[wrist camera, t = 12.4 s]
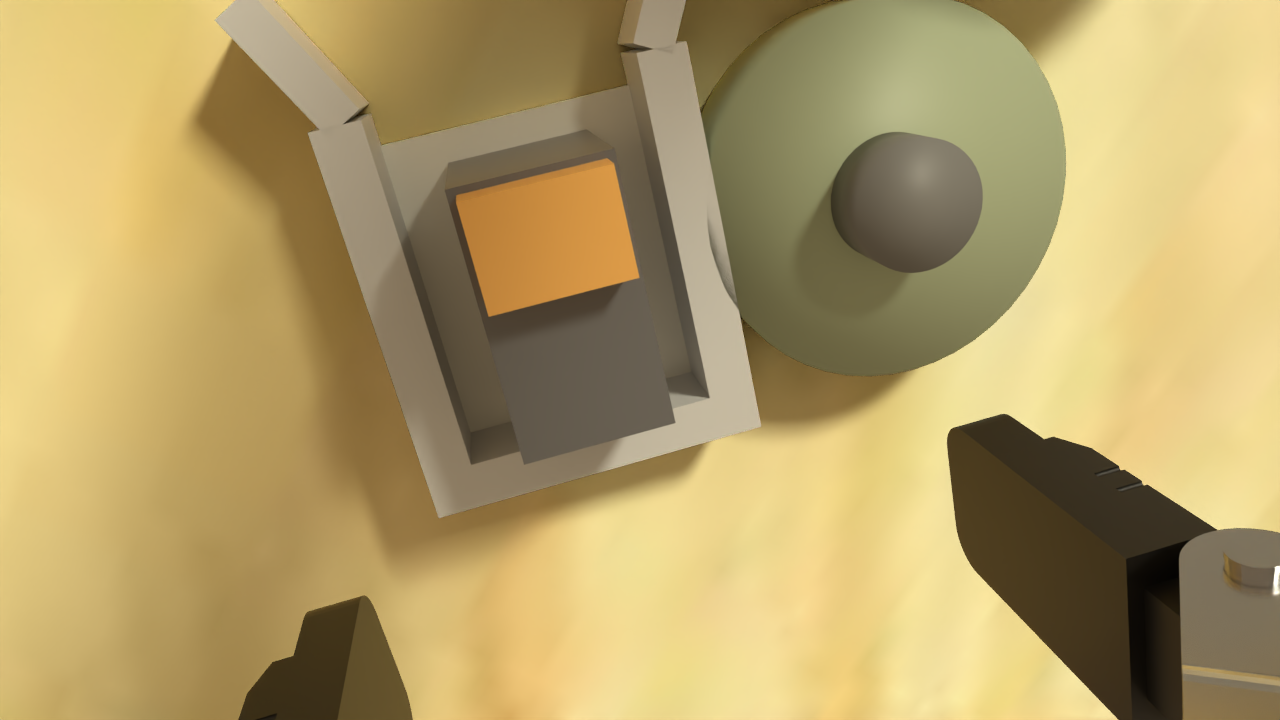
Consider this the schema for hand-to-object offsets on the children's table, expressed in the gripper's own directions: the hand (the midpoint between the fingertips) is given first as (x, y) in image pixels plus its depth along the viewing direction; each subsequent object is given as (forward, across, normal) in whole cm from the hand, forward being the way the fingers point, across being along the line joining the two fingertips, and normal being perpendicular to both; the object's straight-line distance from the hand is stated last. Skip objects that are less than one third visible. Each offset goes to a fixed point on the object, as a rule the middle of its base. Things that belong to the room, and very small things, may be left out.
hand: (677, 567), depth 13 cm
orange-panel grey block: (+20, 0, 0) cm, 20 cm away
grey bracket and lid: (+20, -5, -1) cm, 21 cm away
